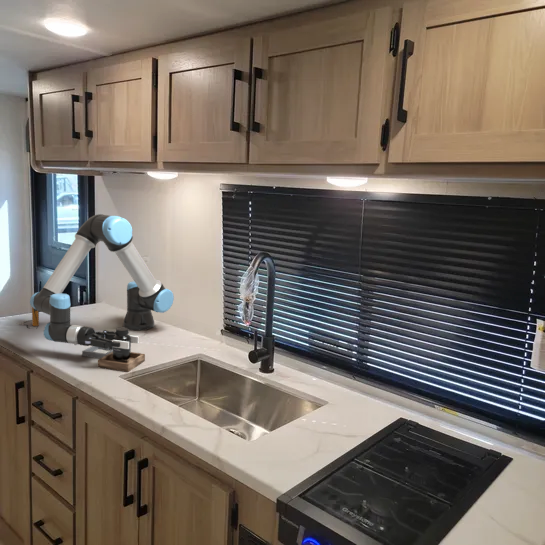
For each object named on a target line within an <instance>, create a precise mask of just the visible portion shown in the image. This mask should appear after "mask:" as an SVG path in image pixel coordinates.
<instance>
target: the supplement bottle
mask: <svg viewBox="0 0 545 545" xmlns="http://www.w3.org/2000/svg"><path fill="white" fill-rule="evenodd" d="M129 331H130V329H128V328H124V327H118V328H115V332H116V335H115V336H114V337H113V340H119V341H126V342H129V349H123V348H116V347H113V359H114V360H117V361H125V360H128V359H130V357H131V352H132V348H131V347H132V343H131V337H130V332H129ZM113 340H112V341H113Z"/></svg>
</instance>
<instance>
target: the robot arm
mask: <svg viewBox="0 0 545 545" xmlns="http://www.w3.org/2000/svg"><path fill="white" fill-rule="evenodd" d="M74 238H75V239H74V241H73V242H72V244H71V245H70V247H68V249H67V251H66V252H65V254H64V256H63V257H62V258H61V260H60V262H59V263H58V264H57V266H56V267H55V269H54V271H53V272H52V273H51V275H50V276H49V278H48V280H47V281H46V283H45V284H44V285H43V287H42V288H41V290H40V291H38V292H35V294H32V295H31V297H30V299H29V304H30V306H31V308H32V307H33V308H34V309H36V310H37V311H39V312H41V313H43V314H46V315H49V322H48V323H46V325H45V326H44V330H43V337H44V338H45V339H46V340H48V341H50V342H51V341H52V342H55V343H65V344H70V345H71V344H72V345H74V346H77V345H80V346H84V347H91V346H95V347H100V348H106V349H107V348H108V347H109V349H112V346H113V347H116V348H123V349H129V342H126V341H119V340H113V337H114V336H115V335H116V331H113V330H106V329H104V330H103V331H95V329H94V328H93V327H92V326H91V327H90V326H85V325H84V326H83V325H78V324H77V325H76V324H71V298H70V295H69V294H67V293H63V292H64V290H65V289H66V288H67V286H68V284H69V283H70V281H71V280H72V278H73V277H74V275H75V274H76V272H77V271H78V269H79V268H80V266H81V264H82V263H83V261H85V258H86V257H87V255H89V252H90V251H91V249H94V248H95V247H96V246H97V245H98V244H99V242H102V243H103V244H104V245H105V246H106V249H108V250H109V252H111V253H115V255H116V256H117V257H118V259H119V260H120V262H121V264H122V265H123V266H124V268H125V270H126V271H127V272H128V274H129V276H130V277H131V278H132V281H130V282H128V283H127V285H126V313H125V316H124V318H123V323H122V324H123V326H122V328H128V329H129V331H130V330H131V331H145V330H150V329H153V328H154V327H155V318H154V316H153V313H152V312H155V313H160V314H163V313H167V312H168V311H169V310H170V309H171V307H172V306H173V304H174V300H175V299H174V298H175V297H174V293H173V291H172V290H170V289H168V288H166V287H165V286H164V284H163V283H162V281H161V280H160V279H156V278H155V276H154V275H153V273H152V272H151V270H150V268H149V267H148V265H147V264H146V262H145V260H144V259H143V257H142V256H141V254H140V252H139V251H138V249H137V248H136V246H135V244H134V243H133V240H134V236H133V228H132V224H131V223H130V222H129V221H128V220H127V219H126V218H124V217H121V216H119V215H107V214H101V213H100V214H99V213H98V214H94V215H92V216H90V217H89V218H87V220H85V222H84V223H83V224H82V225H81V226H80V227H79V229H78V230H77V231H76V233H75V234H74ZM129 335H130V334H129ZM130 337H131V344H139V343H140V341H139V340H140V337H139V336H138V335H130Z"/></svg>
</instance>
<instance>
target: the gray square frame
mask: <svg viewBox="0 0 545 545" xmlns="http://www.w3.org/2000/svg"><path fill="white" fill-rule="evenodd" d="M97 350H105V351H108V352H106V353H104V352H99V351H98V352H96V351H97ZM111 352H113V346H112V349H109V347H108V348H107V349H106V348H100V347H95V346H88V347H87V348H85V349H84V350H82V351H81V353H82V354H81V355H82V356H83V357H89V358H94V357H95V359H100V358H102V357H104V356H106V355H108V354H109V353H111Z"/></svg>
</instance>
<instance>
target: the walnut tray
mask: <svg viewBox="0 0 545 545" xmlns="http://www.w3.org/2000/svg"><path fill="white" fill-rule="evenodd" d="M145 362H146V353H141V352H140V353H139V352H133V351H131V357H130V359H128V360H125V361H117V360H114V359H113V352H111V353H109V354H108V355H106V356H104V357H102V358H98V359H97V368H98V367H100V368H99V369H105V368H106V370H113V371H117V372H118V371H120V372H125V373H129V372H130V371H131V370H133V369H135V368H137V367H139V366H140V365H142V364H143V363H145Z"/></svg>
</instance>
